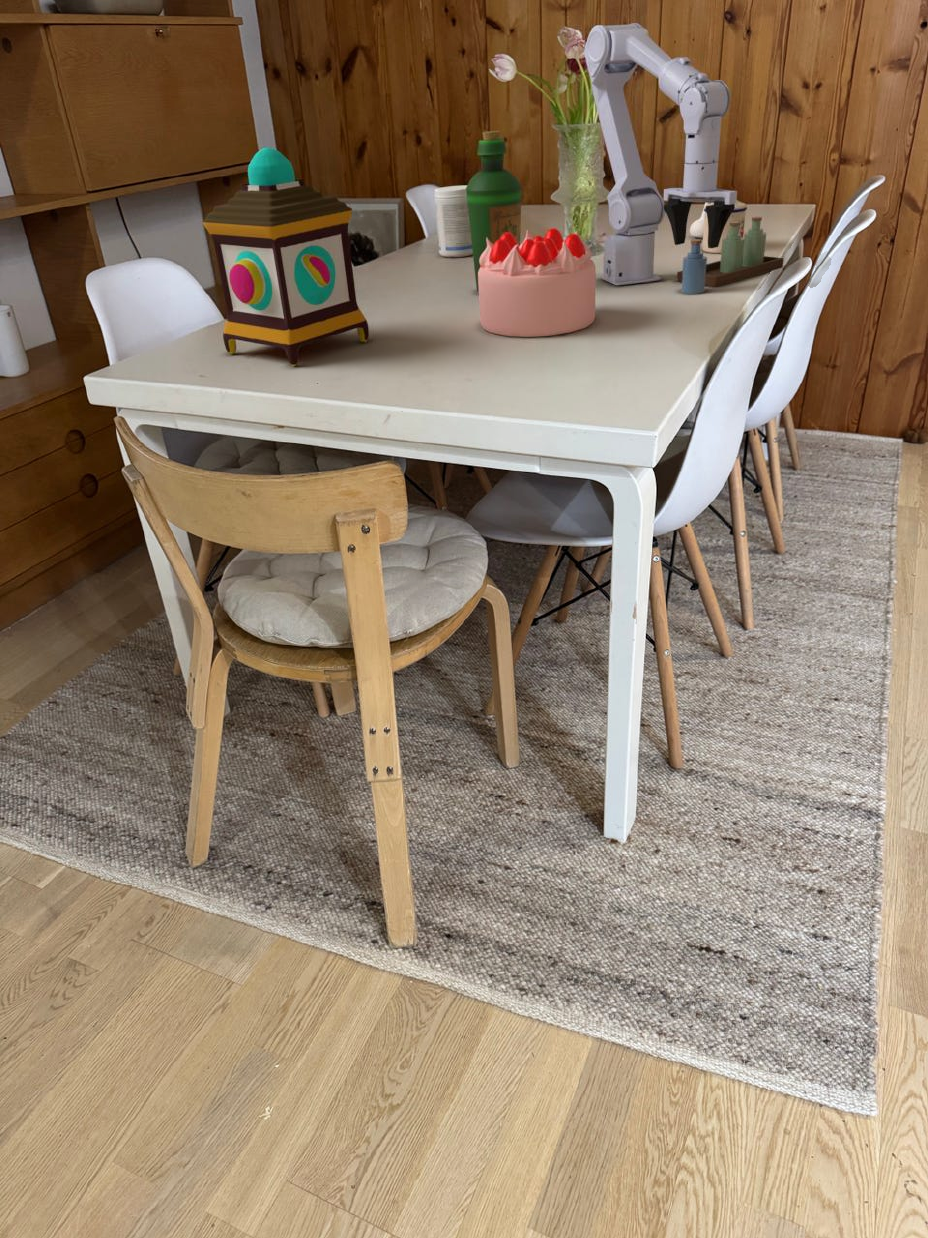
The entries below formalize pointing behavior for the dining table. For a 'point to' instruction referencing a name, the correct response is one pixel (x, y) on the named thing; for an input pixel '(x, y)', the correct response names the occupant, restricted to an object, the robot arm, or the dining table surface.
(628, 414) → the dining table surface
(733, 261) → the green bottle mid
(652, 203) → the robot arm
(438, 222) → the supplement tub
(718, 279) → the tray
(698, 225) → the garlic bulb
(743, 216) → the cream enamel lidded pot
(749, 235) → the green bottle far
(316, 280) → the decorative lantern
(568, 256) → the cake
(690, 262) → the blue bottle
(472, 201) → the bottle
